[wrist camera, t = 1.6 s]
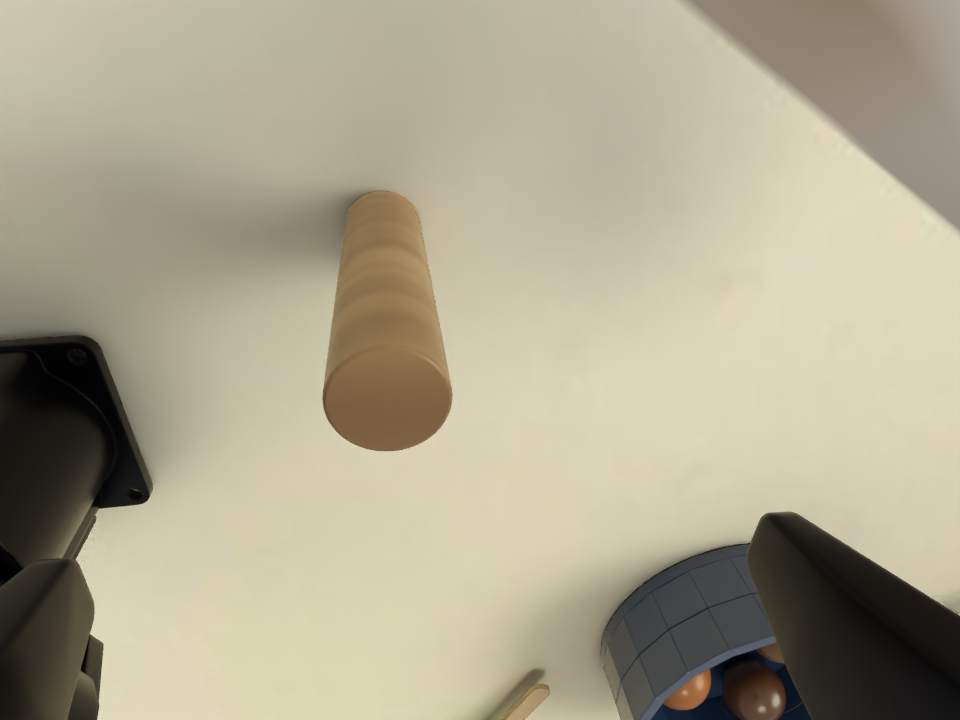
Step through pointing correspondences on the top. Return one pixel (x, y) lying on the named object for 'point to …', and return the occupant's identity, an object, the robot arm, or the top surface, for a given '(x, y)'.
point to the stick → (385, 332)
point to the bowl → (689, 638)
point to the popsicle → (527, 703)
